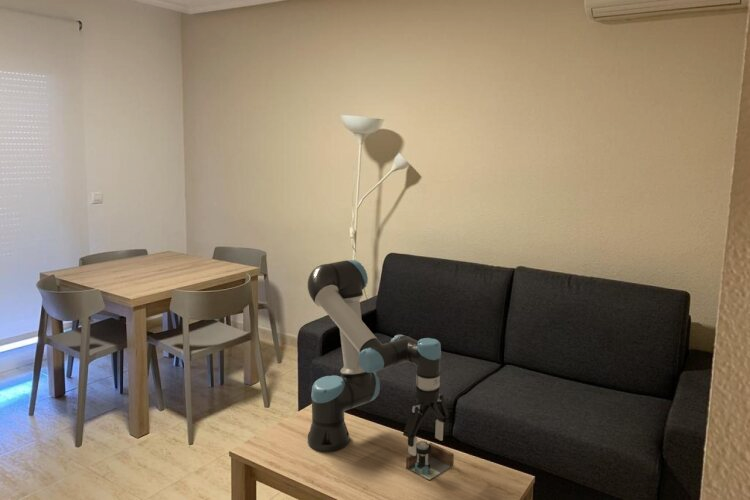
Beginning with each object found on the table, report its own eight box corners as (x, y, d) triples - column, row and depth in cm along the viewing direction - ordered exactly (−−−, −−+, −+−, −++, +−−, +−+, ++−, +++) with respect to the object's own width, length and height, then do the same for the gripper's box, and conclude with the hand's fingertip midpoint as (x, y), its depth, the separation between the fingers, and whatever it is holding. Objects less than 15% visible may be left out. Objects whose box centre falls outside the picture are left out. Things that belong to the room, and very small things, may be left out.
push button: (436, 470, 198) (437, 443, 196) (430, 478, 193) (430, 450, 191) (418, 465, 201) (418, 438, 199) (411, 473, 197) (412, 445, 195)
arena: (406, 468, 200) (406, 456, 199) (430, 454, 209) (430, 442, 208) (429, 480, 193) (429, 468, 192) (453, 465, 202) (453, 453, 201)
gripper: (410, 402, 180) (409, 465, 185) (460, 378, 198) (458, 437, 202) (392, 394, 186) (391, 456, 190) (442, 372, 203) (440, 429, 207)
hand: (425, 446), depth 196 cm, fingers open, 13 cm apart
